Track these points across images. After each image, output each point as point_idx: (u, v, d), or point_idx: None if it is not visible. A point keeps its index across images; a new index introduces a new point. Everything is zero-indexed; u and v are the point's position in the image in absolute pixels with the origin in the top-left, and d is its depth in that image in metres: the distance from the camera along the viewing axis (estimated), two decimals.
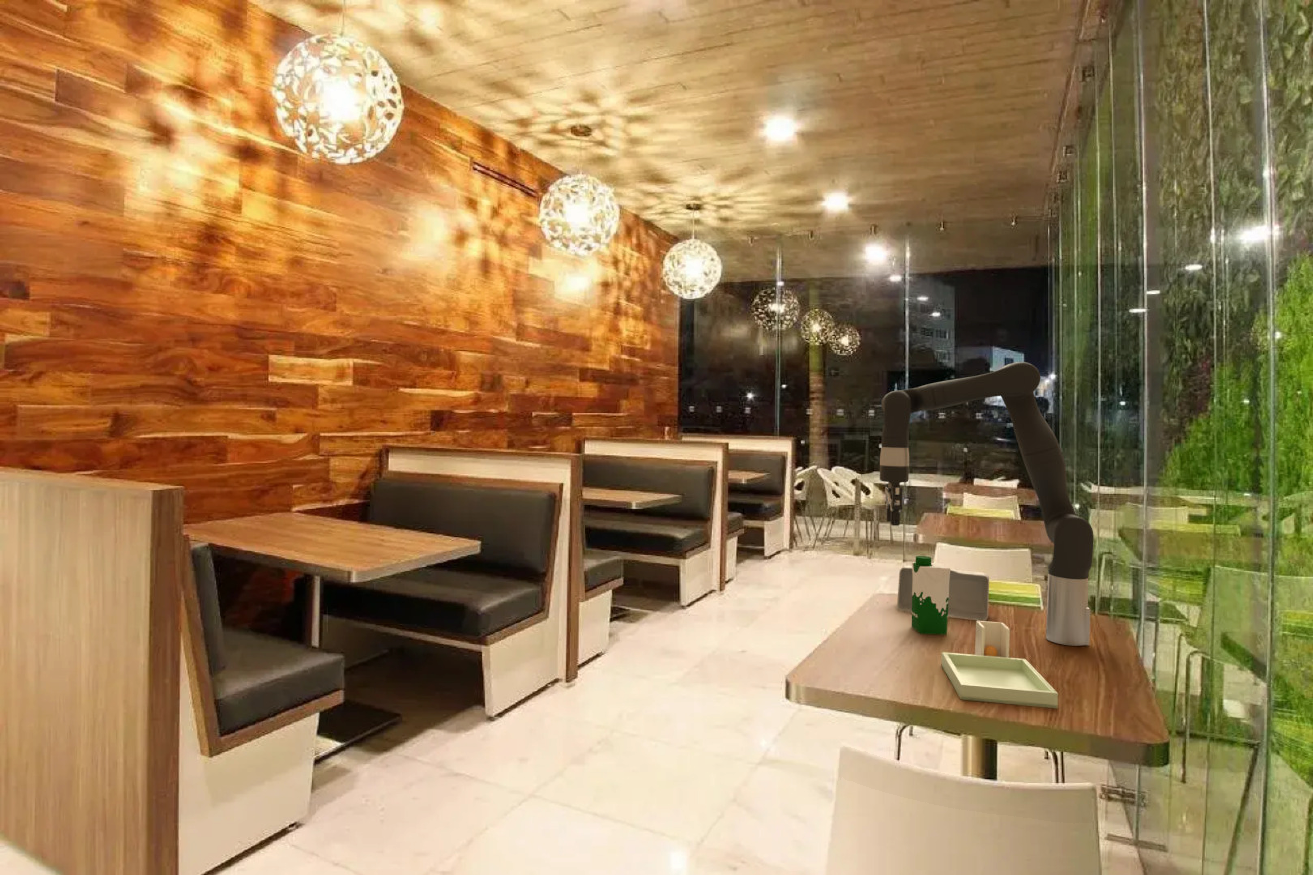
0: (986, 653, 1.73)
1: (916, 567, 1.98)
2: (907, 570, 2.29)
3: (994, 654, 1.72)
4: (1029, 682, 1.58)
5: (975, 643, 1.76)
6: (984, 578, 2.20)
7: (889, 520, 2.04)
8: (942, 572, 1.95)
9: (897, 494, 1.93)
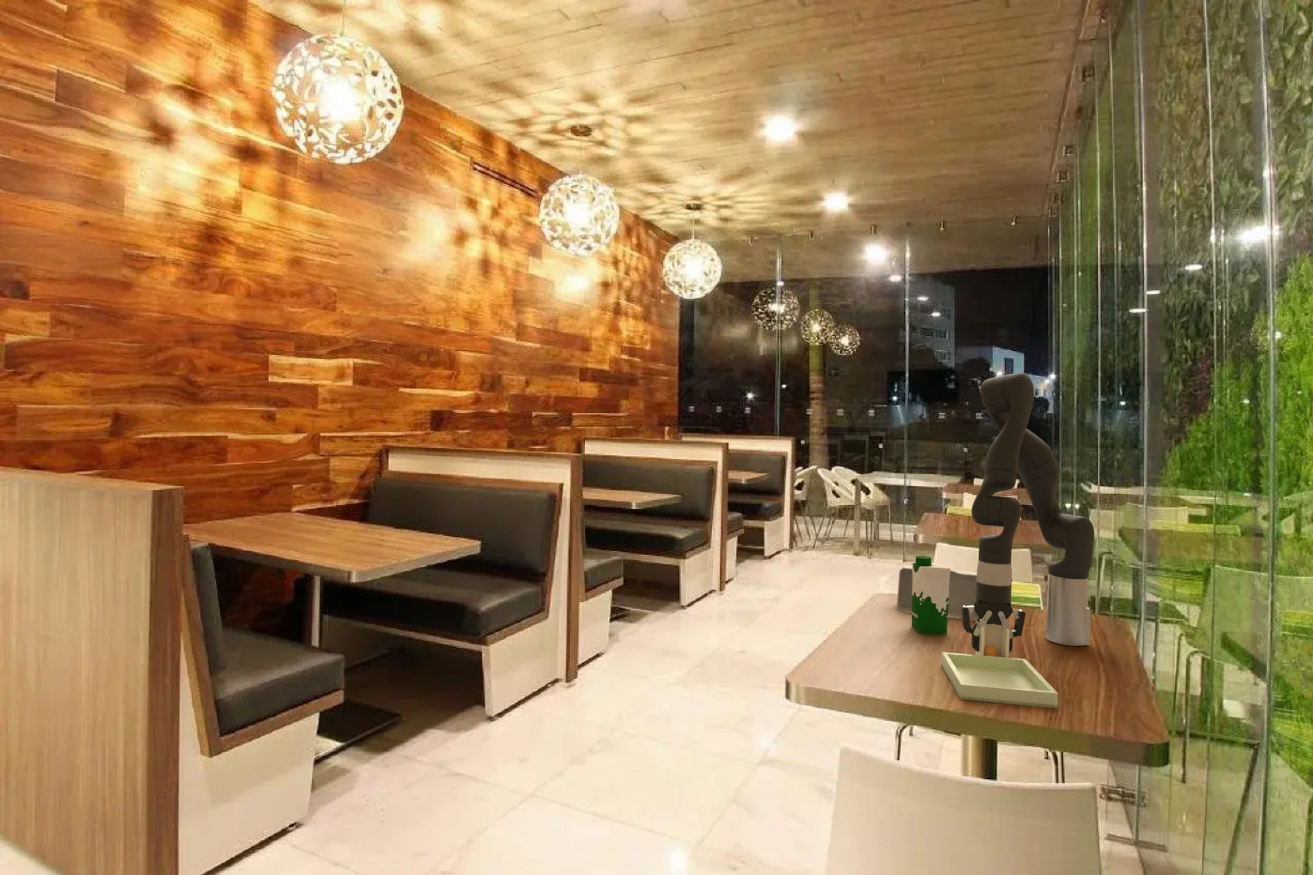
0: (986, 654, 1.73)
1: (916, 567, 1.98)
2: (907, 570, 2.29)
3: (994, 654, 1.72)
4: (1029, 682, 1.58)
5: None
6: None
7: None
8: (942, 572, 1.95)
9: None
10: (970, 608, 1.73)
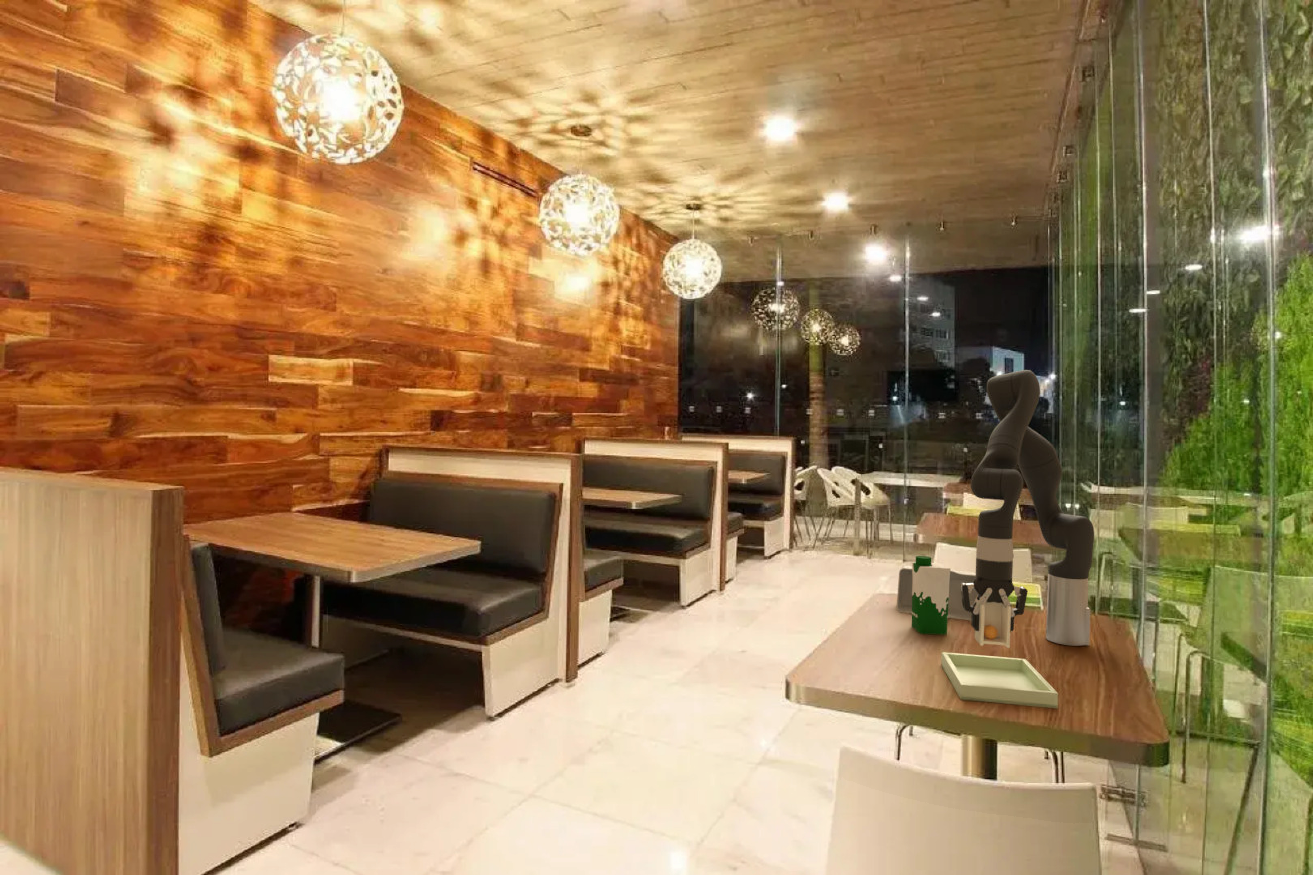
0: (985, 635, 1.65)
1: (916, 567, 1.98)
2: (907, 571, 2.28)
3: (994, 635, 1.64)
4: (1029, 682, 1.58)
5: None
6: None
7: None
8: (942, 572, 1.95)
9: None
10: (969, 586, 1.65)
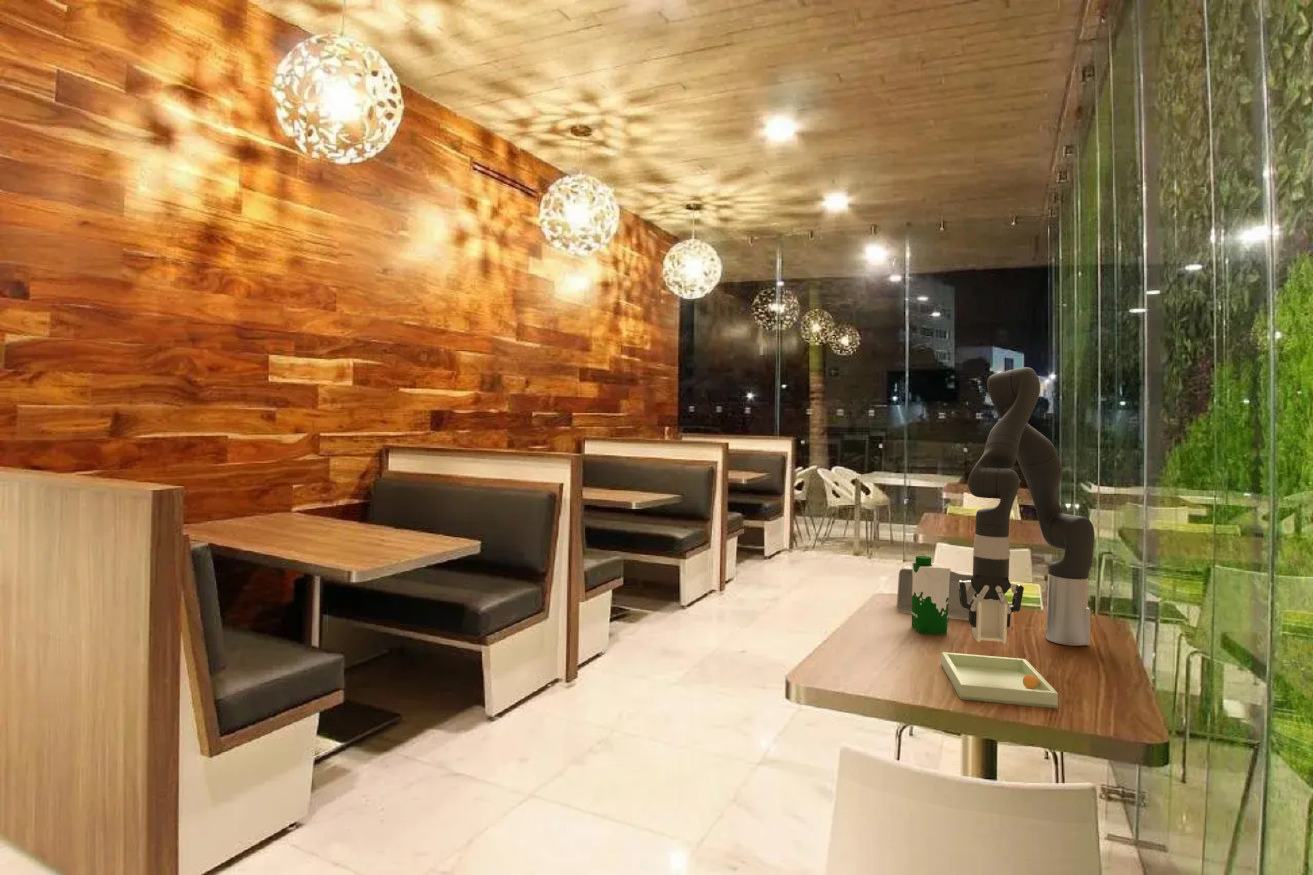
0: (1035, 687, 1.52)
1: (916, 567, 1.98)
2: (906, 571, 2.28)
3: None
4: None
5: None
6: None
7: None
8: (942, 572, 1.95)
9: None
10: (967, 583, 1.68)
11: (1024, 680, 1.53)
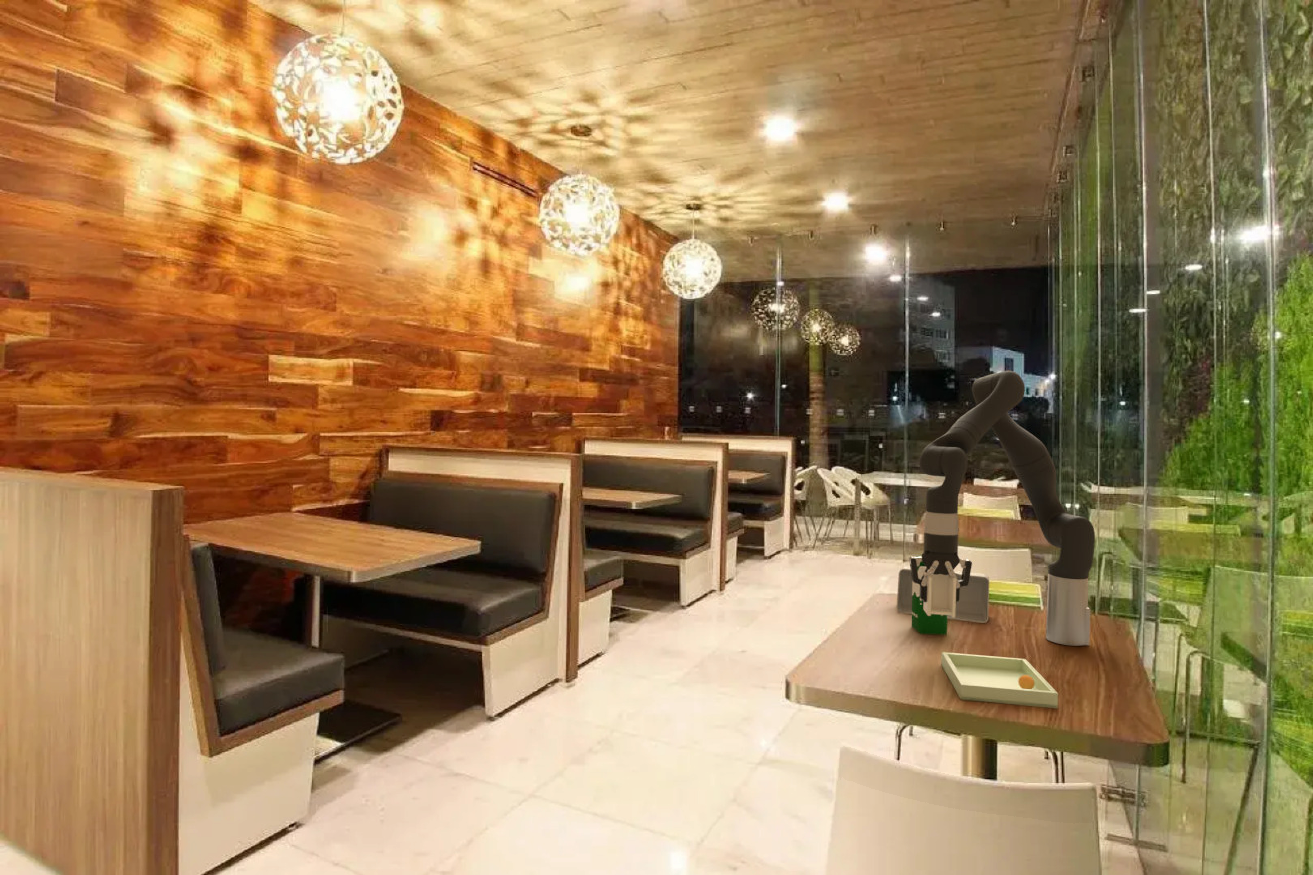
0: (1032, 686, 1.52)
1: None
2: (906, 571, 2.27)
3: None
4: None
5: None
6: (984, 579, 2.18)
7: None
8: None
9: None
10: (918, 559, 1.73)
11: (1020, 685, 1.53)
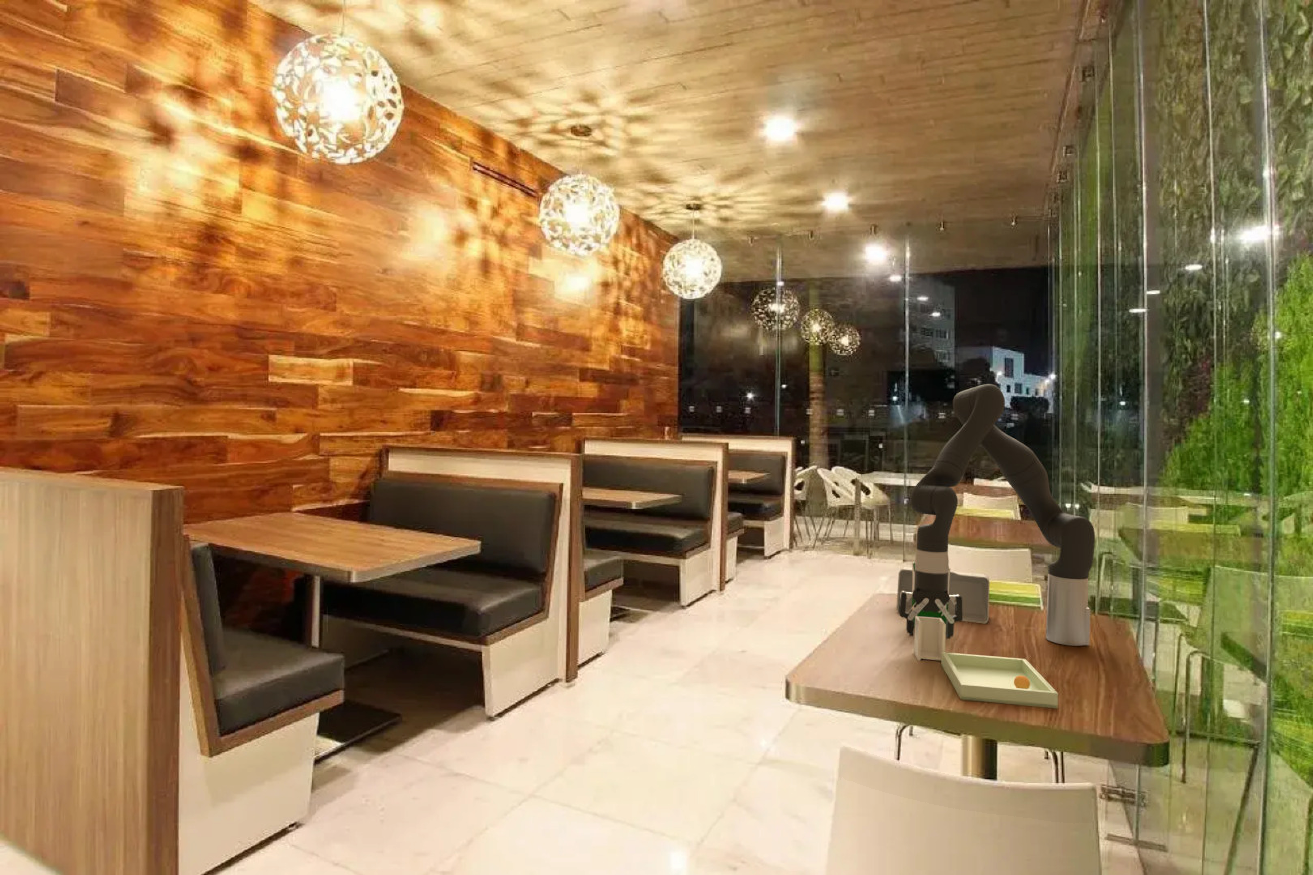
0: (1029, 685, 1.52)
1: None
2: (906, 572, 2.26)
3: None
4: None
5: (914, 638, 1.79)
6: (984, 580, 2.17)
7: (912, 634, 1.76)
8: None
9: None
10: (908, 594, 1.76)
11: None
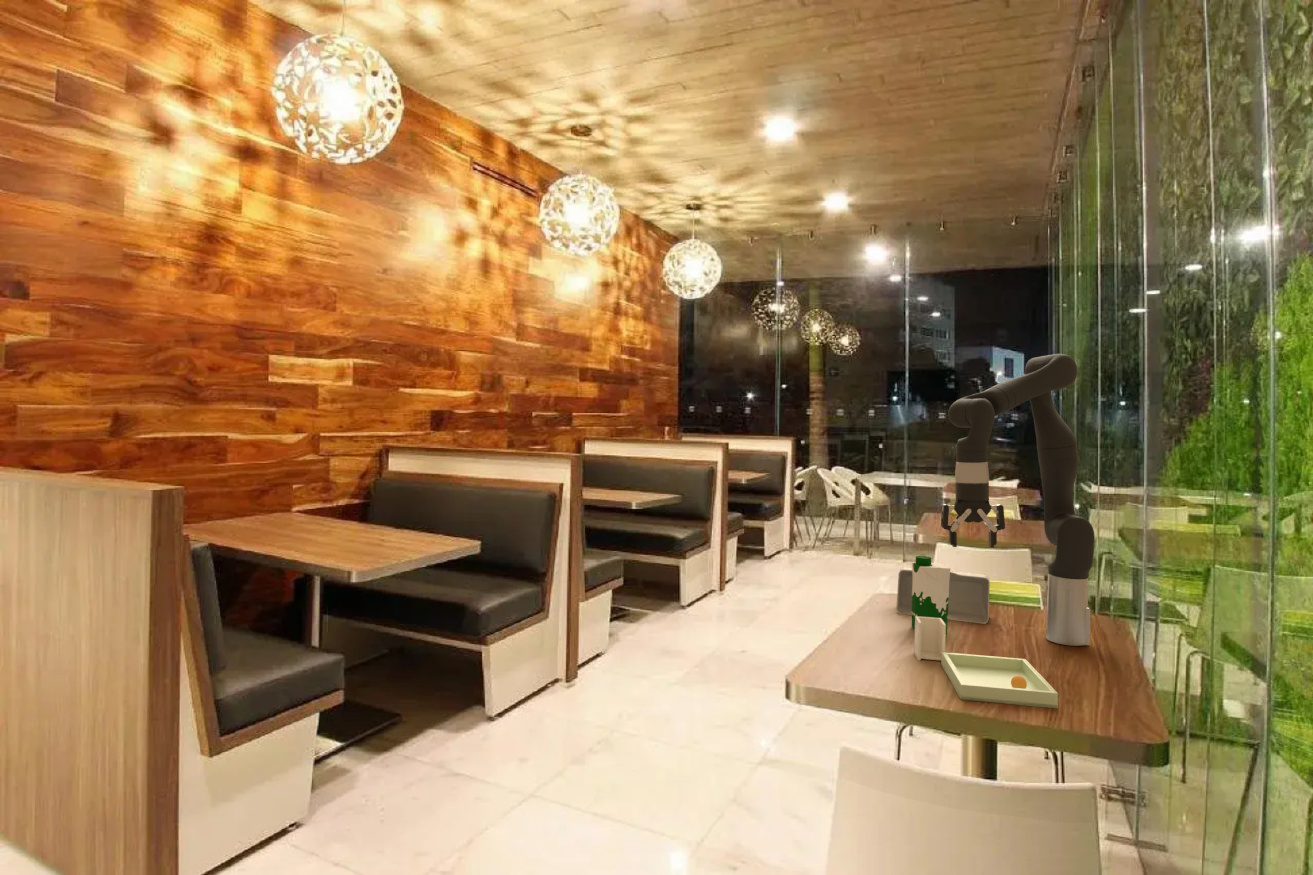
0: (1025, 684, 1.51)
1: (916, 567, 1.98)
2: (906, 572, 2.26)
3: (1020, 676, 1.53)
4: (1029, 682, 1.58)
5: (914, 638, 1.79)
6: (984, 580, 2.17)
7: None
8: (942, 572, 1.95)
9: None
10: (950, 506, 1.79)
11: None
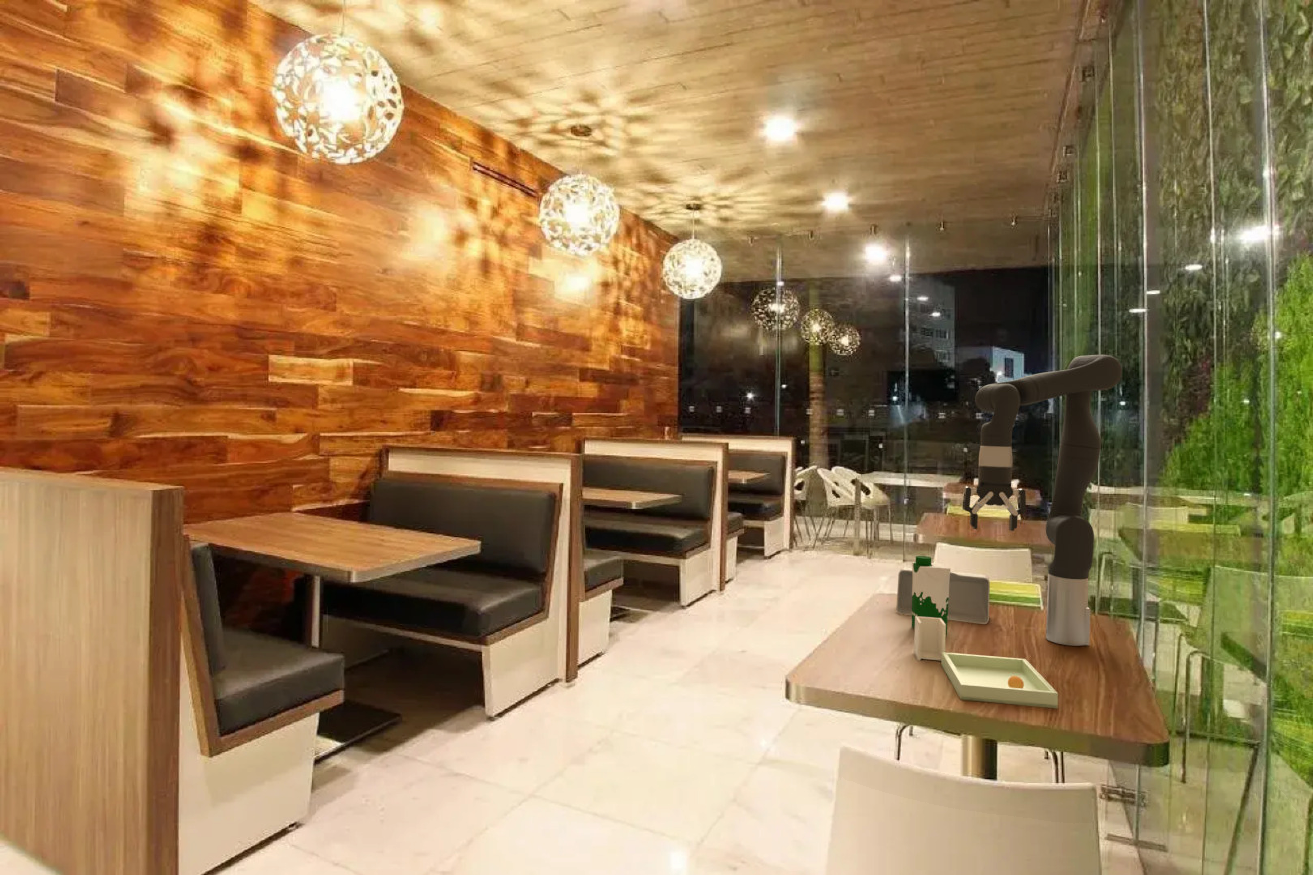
0: (1022, 683, 1.51)
1: (916, 567, 1.98)
2: (905, 572, 2.25)
3: (1014, 677, 1.52)
4: (1029, 682, 1.58)
5: (914, 638, 1.78)
6: (984, 580, 2.17)
7: None
8: (942, 572, 1.95)
9: None
10: (973, 489, 1.83)
11: None
